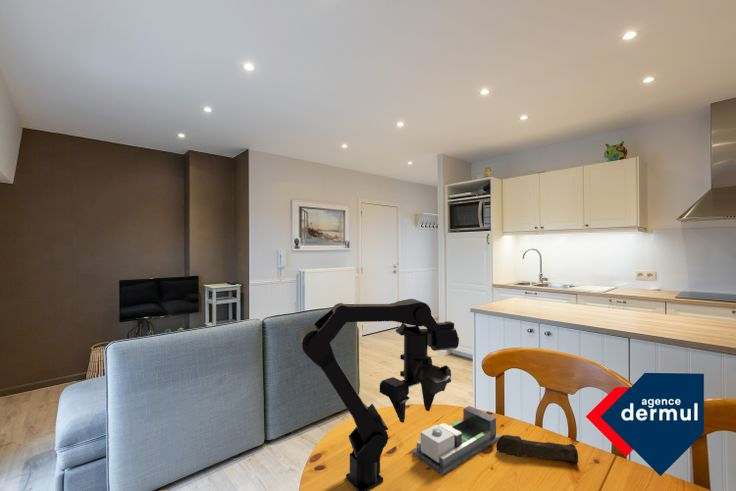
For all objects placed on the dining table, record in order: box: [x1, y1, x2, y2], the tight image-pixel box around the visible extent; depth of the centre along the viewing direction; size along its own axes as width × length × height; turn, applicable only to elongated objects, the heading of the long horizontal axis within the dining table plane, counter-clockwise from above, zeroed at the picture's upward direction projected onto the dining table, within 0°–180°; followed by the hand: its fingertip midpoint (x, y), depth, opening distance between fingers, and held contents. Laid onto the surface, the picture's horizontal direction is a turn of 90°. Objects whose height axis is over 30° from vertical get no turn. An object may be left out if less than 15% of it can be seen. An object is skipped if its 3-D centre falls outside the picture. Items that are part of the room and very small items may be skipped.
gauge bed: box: [412, 405, 500, 476], centre depth 88 cm, size 24×10×6 cm, turn 127°
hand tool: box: [495, 434, 579, 465], centre depth 84 cm, size 19×4×5 cm, turn 76°
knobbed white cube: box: [420, 424, 454, 463], centre depth 83 cm, size 6×6×5 cm
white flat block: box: [438, 422, 462, 448], centre depth 86 cm, size 2×6×4 cm, turn 37°
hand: (415, 416), depth 79 cm, fingers open, 9 cm apart
